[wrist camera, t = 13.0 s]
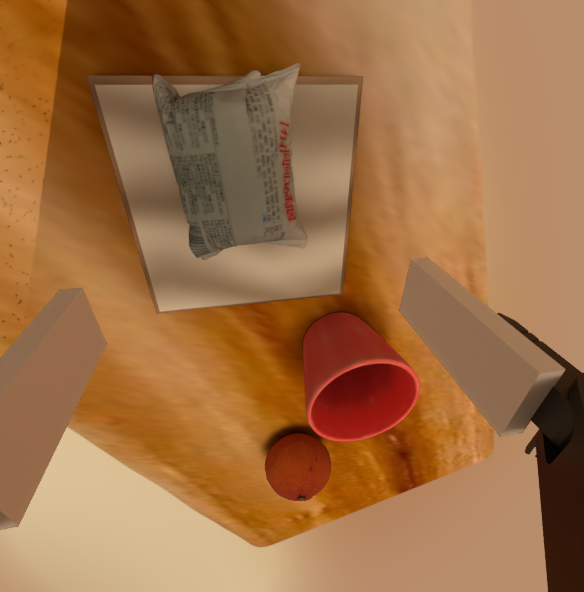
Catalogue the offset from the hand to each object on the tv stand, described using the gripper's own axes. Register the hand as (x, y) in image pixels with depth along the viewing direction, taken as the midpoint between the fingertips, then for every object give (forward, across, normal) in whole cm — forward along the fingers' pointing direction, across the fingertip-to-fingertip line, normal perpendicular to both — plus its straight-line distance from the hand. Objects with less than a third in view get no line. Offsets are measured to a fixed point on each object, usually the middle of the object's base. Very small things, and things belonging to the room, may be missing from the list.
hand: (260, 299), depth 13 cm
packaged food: (+15, +2, -1) cm, 15 cm away
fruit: (+15, +4, -36) cm, 39 cm away
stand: (+16, 0, -1) cm, 16 cm away
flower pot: (+16, +9, -17) cm, 25 cm away
